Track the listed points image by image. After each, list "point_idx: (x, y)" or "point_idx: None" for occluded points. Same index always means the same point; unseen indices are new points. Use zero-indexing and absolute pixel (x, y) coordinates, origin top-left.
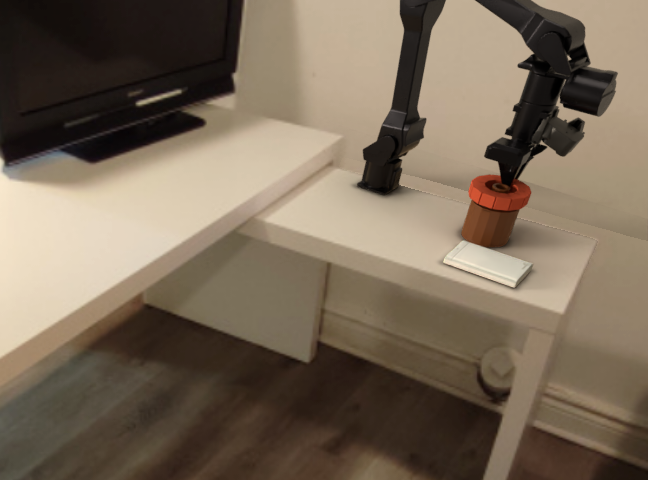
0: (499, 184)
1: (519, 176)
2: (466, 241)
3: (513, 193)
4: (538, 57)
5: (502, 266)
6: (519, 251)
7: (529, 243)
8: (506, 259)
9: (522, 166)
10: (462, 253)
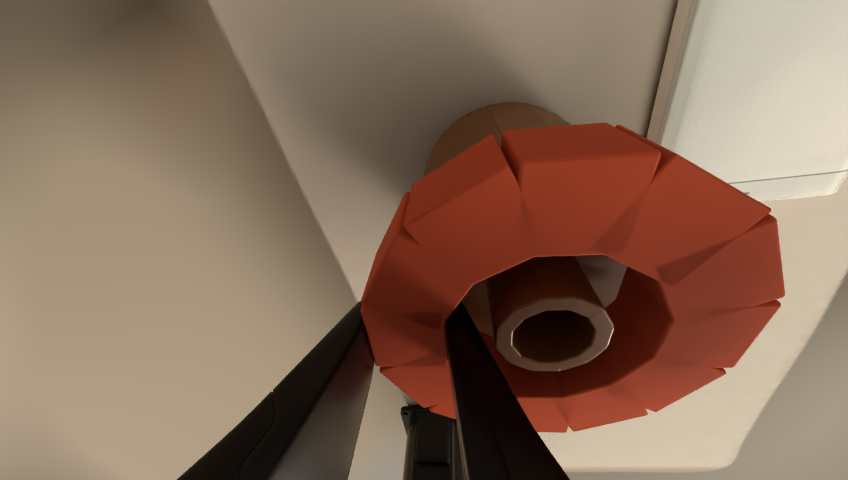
0: (521, 353)
1: (338, 334)
2: None
3: (629, 254)
4: None
5: None
6: (522, 26)
7: (418, 36)
8: None
9: (317, 414)
10: (789, 162)
